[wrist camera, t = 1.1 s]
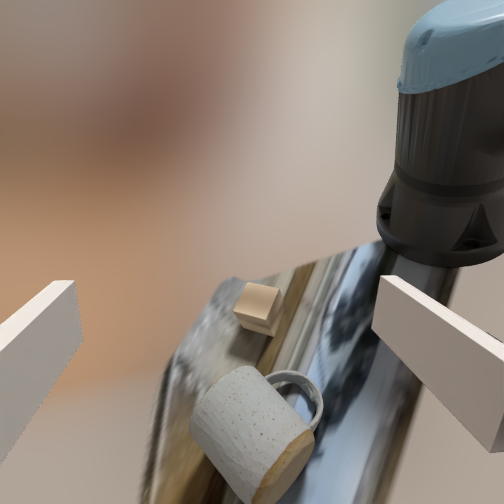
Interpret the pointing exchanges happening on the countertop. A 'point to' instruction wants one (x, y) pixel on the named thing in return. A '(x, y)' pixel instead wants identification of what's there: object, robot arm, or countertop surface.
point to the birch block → (260, 308)
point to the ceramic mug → (255, 432)
